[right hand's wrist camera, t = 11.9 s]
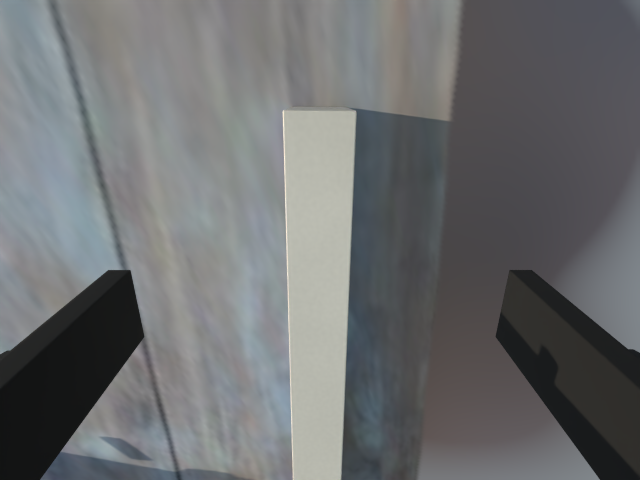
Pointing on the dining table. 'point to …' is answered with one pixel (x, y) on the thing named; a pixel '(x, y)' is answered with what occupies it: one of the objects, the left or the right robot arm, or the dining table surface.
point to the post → (318, 280)
